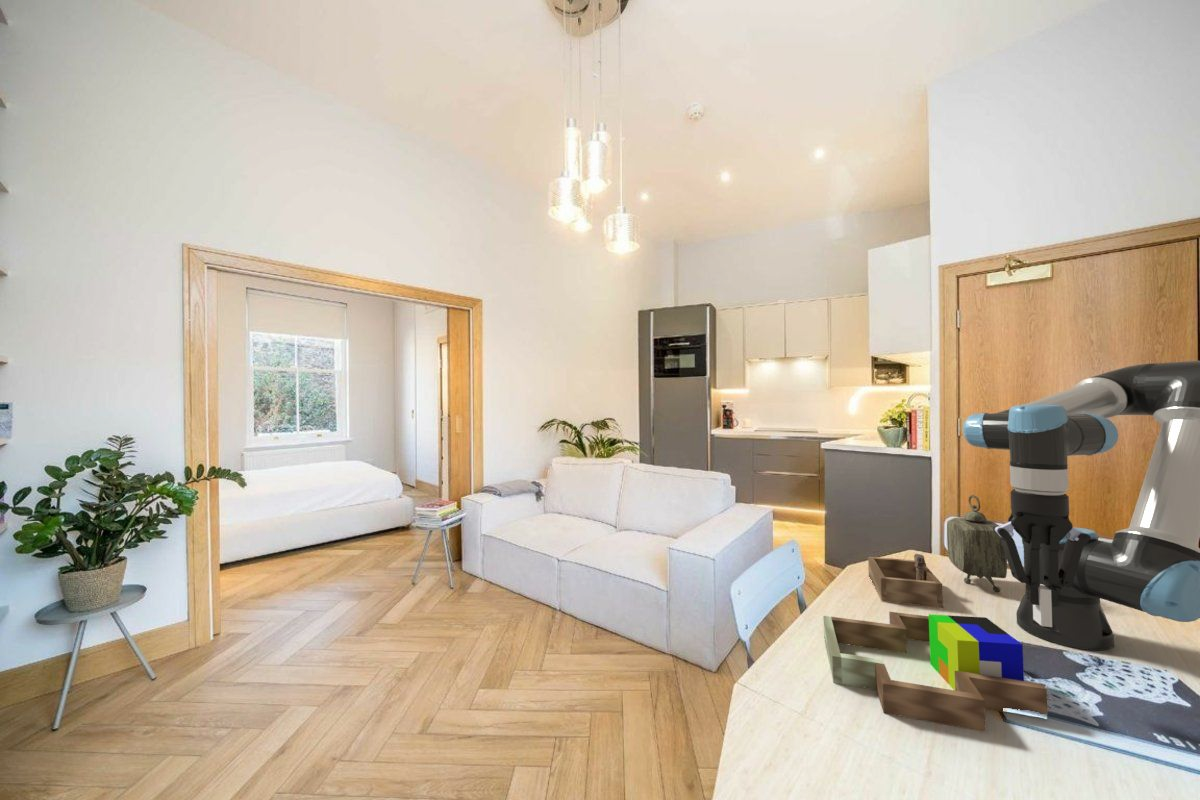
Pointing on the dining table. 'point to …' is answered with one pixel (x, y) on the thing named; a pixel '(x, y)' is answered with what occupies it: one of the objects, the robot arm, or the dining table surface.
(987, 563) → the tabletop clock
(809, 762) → the dining table surface
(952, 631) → the puzzle toy
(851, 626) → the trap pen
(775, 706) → the dining table surface
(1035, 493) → the robot arm
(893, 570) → the box
